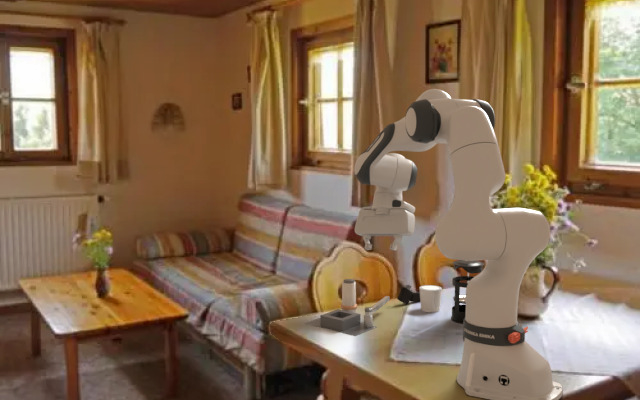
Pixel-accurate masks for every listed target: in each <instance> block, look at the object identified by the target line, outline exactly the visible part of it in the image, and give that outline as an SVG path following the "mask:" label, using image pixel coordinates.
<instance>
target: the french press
mask: <svg viewBox="0 0 640 400" xmlns="http://www.w3.org/2000/svg"><path fill="white" fill-rule="evenodd" d="M452 265H453V270H456V269H460V268H461V269H463V270H464V272H466V273H467V275H460V276H454V277H453V278H452V279H451V281H452V283H451V284H452V285H453V286H454V296H453V297H452V298H453V301H454V306H452V307H451V316H450V320H451V321H452V322H454V323H457V324H461V325H463V321H464V318H465V314H466V294H460V293H461V288H467V285H468V283H469V282H470V280H471V279H472V278H474V277H475V276H471V275H470V274H472V275H473V274H480V273H481V272H482V271H483V269H484V266H485V263H484V262H483V261H481V260H477V261H463V260H454V261H453V262H452ZM462 281H464V282H462ZM465 281H467V282H465Z"/></svg>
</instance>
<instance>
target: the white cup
mask: <svg viewBox="0 0 640 400" xmlns="http://www.w3.org/2000/svg"><path fill="white" fill-rule="evenodd" d="M419 293H420V302H419V303H420V310H421V311H422V312H426V313H436V312H439V311H440V309H441V301H442V294H443V287H441V286H439V285H435V284H434V285H433V284H432V285H431V284H424V285H421V286H419Z"/></svg>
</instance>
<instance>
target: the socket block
mask: <svg viewBox="0 0 640 400" xmlns="http://www.w3.org/2000/svg"><path fill="white" fill-rule="evenodd" d="M373 315H374V314H372V315H370V316H365V314H364V315H363V323H362V322H361V313H359V312H358V313H357V312H356V313H353V312H349V311H344V310H342V309H341V308H340V309H339V308H337V309H334V310H332V311H329V312H326V313H323V314H321V315H320V317H318V318H316V319H313V320H310V321H307V322H304V324H306V325H309V326H312V327H316V328H321V329H325V330H329V331H334V332H337V333H342V334H345V335H349V336H354V337H356V336H359V335H362V334H364V333H366V332H368V331H371V330H373V329H374V330H375V329H376V328H377V326H376V325H375V326H373V324H374V323H373V320H374V318H373Z"/></svg>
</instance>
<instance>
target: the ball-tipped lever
mask: <svg viewBox="0 0 640 400" xmlns="http://www.w3.org/2000/svg"><path fill="white" fill-rule="evenodd" d="M390 299H391V298H390V296H388V295H385V296H384V297H383V298H381V299H380V300H379V301H377V302H376V303H375V304H373V305H372V306H371V307H369V306H368V307H364V315H365V316H370V315H374V313H375V312H377V311H378V310H379V309H380V308H382V307H383V306H384V305H386V304H387V303H388V302H390Z"/></svg>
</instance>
